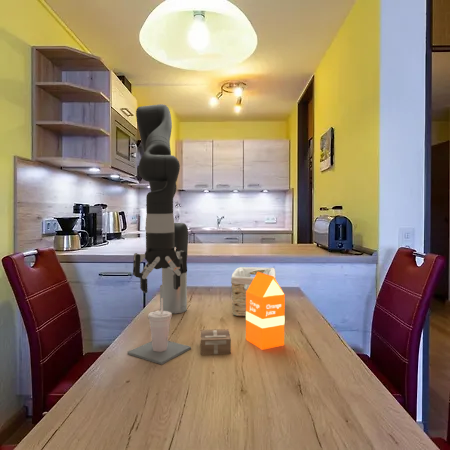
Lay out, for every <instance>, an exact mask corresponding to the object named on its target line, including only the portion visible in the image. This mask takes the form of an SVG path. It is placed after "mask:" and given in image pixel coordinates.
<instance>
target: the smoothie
mask: <svg viewBox="0 0 450 450" xmlns="http://www.w3.org/2000/svg"><path fill="white" fill-rule="evenodd" d="M172 314H173V313H171V312H168V311H163V298H161V310H155V311H151V312H149V313H148V314H147V319H148V320H149V322H148V323H149V327H150V328H149V329H150V330H149V331H150V337H151V341H152V346H153V351H156V352H162V351H165V350H166V349H167V343H168V341H169V334H170V325H171V320H172V319H171V318H172V316H173V315H172Z"/></svg>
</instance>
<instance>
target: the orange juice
mask: <svg viewBox="0 0 450 450" xmlns="http://www.w3.org/2000/svg"><path fill="white" fill-rule="evenodd" d="M253 277H254V279H253V281H252V283H251V284H250V286H249V288H248V290H247V291H246V316H245V340H246V341H248V342H249V343H251V344H252V345H254V346H256V347H257V348H259V349H260V350H262V351H263V350H267V349H272V348H276V347H282V346H285V319H286V318H285V317H286V316H285V311H286V310H285V309H286V308H285V307H286V305H285V303H286V302H285V299H286V298H285V297H286V294H285V293H284V291H283V289H282V287H281V286H280V285H279V283H278V281H277V278H276V279H275V278H274V276H270V275H267V274H263V273H260V272H257V274H256V275H255V276H253Z"/></svg>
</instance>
